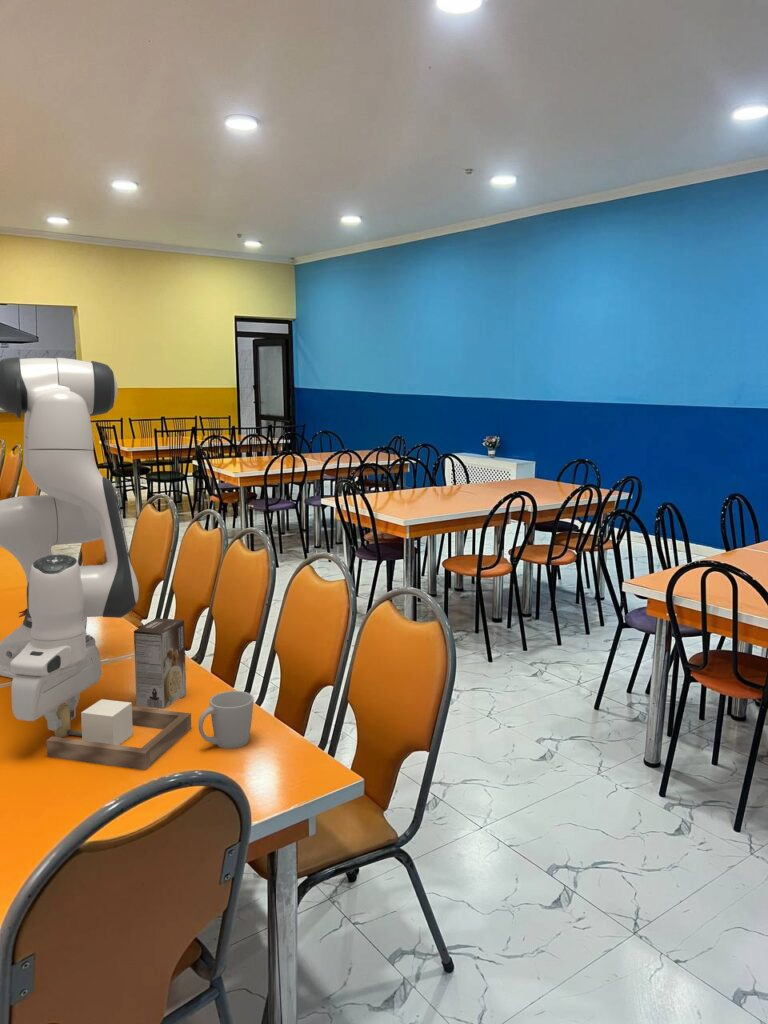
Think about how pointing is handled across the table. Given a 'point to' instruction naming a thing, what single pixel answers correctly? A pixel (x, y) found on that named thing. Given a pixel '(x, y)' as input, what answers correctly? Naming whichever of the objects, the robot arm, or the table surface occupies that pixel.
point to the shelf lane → (127, 756)
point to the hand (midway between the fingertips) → (62, 723)
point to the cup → (229, 719)
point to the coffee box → (160, 663)
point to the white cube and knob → (100, 722)
